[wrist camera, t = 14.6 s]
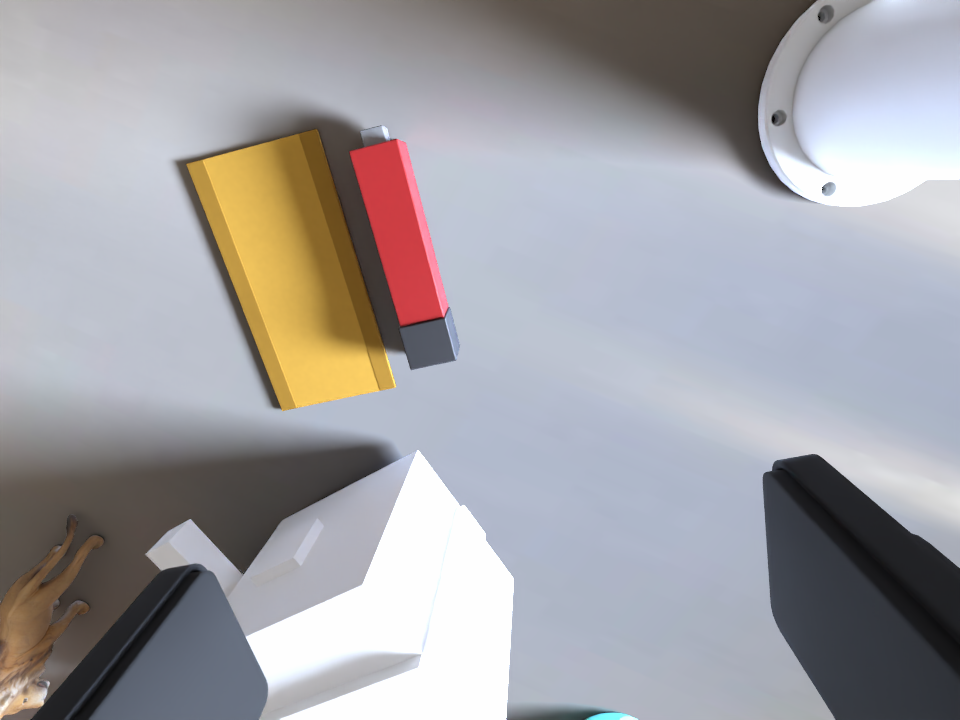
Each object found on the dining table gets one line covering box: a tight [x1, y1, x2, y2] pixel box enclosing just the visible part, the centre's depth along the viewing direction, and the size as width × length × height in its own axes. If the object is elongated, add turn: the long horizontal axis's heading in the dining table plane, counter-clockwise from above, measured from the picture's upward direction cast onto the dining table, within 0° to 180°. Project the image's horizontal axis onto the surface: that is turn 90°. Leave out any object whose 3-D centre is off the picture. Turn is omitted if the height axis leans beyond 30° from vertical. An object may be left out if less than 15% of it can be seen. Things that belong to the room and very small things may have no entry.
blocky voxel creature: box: [145, 450, 514, 720], centre depth 38 cm, size 15×25×28 cm
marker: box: [349, 125, 460, 370], centre depth 33 cm, size 3×15×3 cm, turn 13°
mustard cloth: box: [186, 129, 396, 411], centre depth 36 cm, size 9×18×1 cm, turn 13°
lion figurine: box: [0, 515, 104, 719], centre depth 41 cm, size 15×5×9 cm, turn 164°
